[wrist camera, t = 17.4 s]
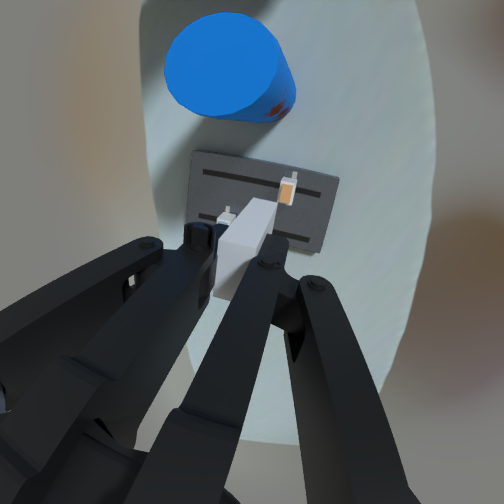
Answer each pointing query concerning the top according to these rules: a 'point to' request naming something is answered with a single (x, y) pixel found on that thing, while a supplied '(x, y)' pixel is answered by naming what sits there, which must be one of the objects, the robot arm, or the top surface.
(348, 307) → the top surface
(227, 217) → the fader
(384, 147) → the top surface
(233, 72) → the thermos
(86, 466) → the robot arm
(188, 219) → the console
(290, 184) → the fader
